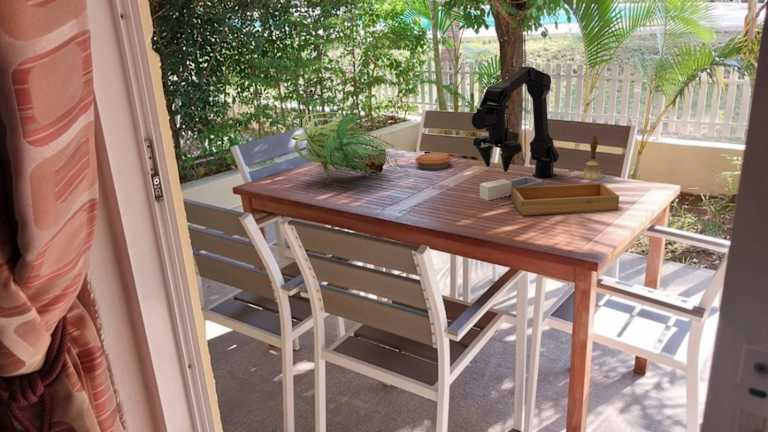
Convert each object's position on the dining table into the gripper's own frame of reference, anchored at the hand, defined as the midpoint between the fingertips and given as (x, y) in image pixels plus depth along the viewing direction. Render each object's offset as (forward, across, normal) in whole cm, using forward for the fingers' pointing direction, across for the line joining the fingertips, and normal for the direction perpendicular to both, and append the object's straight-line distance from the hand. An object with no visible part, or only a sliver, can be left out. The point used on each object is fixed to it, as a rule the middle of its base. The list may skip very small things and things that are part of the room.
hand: (496, 169), depth 208 cm
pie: (+10, +48, -7) cm, 50 cm away
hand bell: (+10, -5, -42) cm, 44 cm away
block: (+10, +1, 0) cm, 10 cm away
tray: (+11, -22, -9) cm, 26 cm away
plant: (+10, +50, +30) cm, 59 cm away
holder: (+10, 0, -11) cm, 15 cm away
